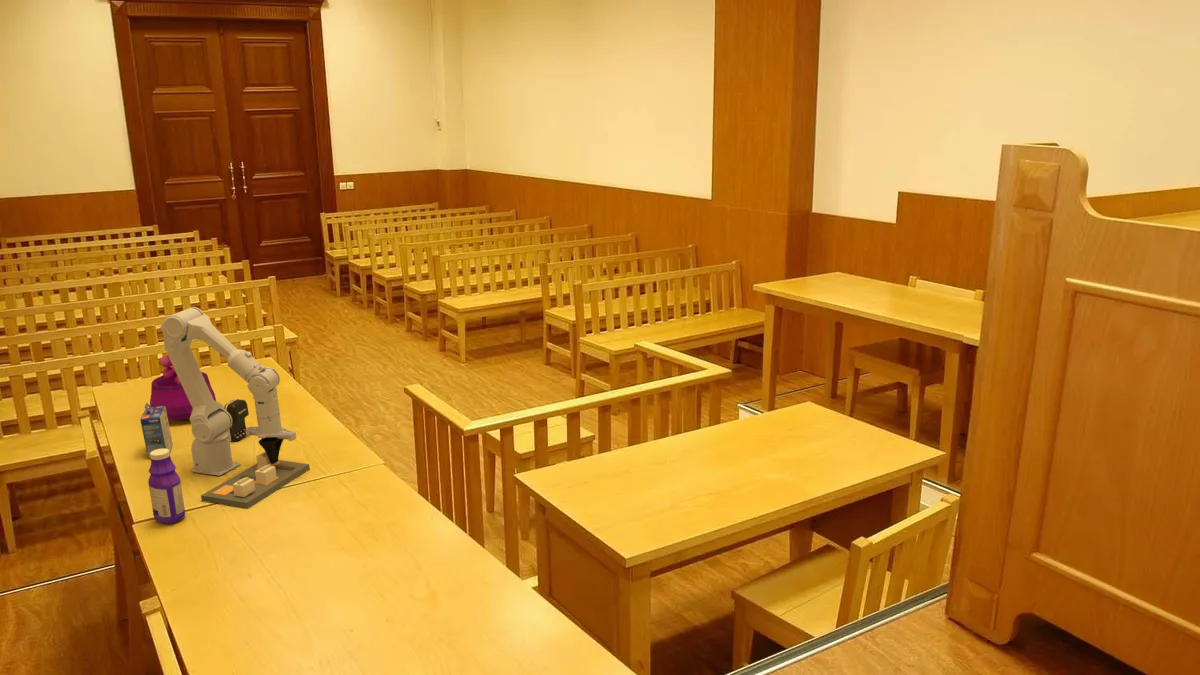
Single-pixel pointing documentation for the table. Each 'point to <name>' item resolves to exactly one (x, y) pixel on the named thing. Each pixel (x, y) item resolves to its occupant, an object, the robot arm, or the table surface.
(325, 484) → the table surface
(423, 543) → the table surface
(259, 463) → the switch
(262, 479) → the switch
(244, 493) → the switch
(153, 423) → the ink cartridge box
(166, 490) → the bottle
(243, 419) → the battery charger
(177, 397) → the decorative plant
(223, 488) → the switch board
